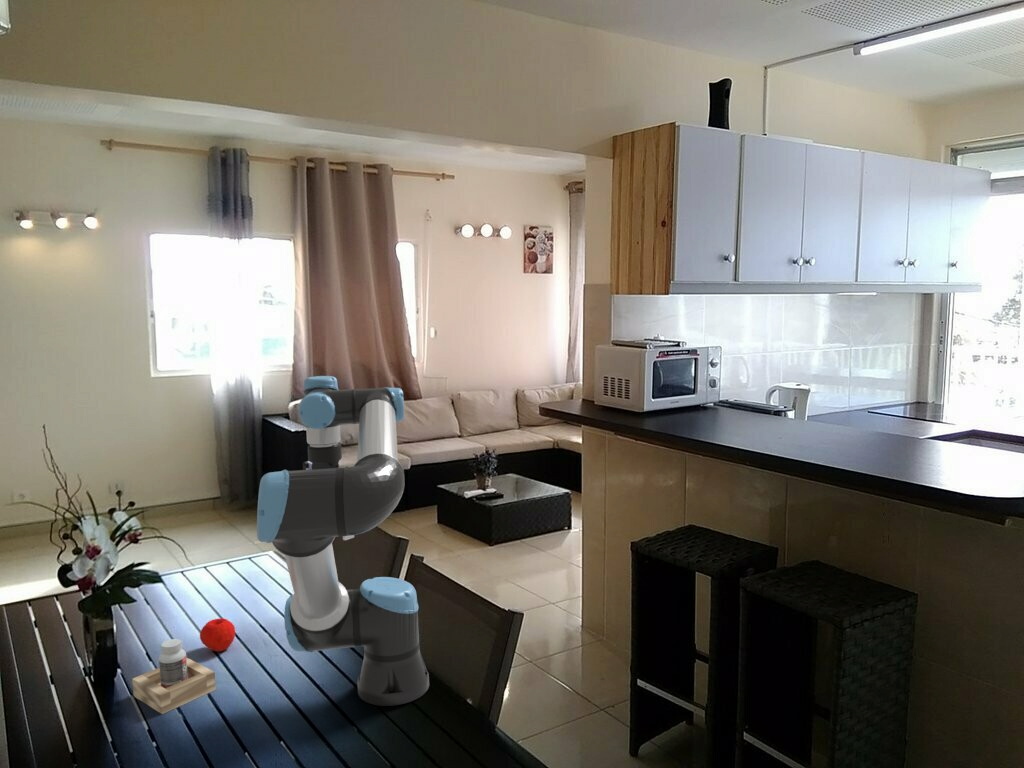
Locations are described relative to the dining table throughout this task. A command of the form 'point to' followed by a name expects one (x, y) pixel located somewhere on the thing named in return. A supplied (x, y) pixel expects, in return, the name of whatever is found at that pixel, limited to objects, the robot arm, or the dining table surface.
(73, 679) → the dining table surface
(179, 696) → the maple holder
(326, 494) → the robot arm
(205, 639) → the apple
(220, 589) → the dining table surface
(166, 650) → the pill bottle
